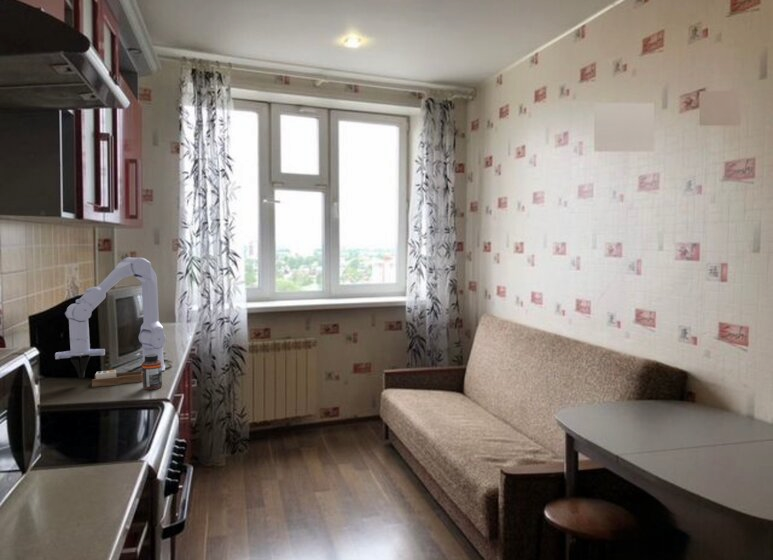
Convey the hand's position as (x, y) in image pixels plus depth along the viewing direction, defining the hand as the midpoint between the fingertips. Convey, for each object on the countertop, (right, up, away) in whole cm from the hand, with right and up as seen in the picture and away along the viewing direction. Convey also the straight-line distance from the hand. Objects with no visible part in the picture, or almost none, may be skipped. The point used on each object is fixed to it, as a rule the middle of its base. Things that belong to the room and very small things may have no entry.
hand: (81, 377), depth 175 cm
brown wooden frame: (+11, -2, +5) cm, 12 cm away
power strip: (+7, -3, +3) cm, 8 cm away
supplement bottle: (+26, -3, -3) cm, 26 cm away
